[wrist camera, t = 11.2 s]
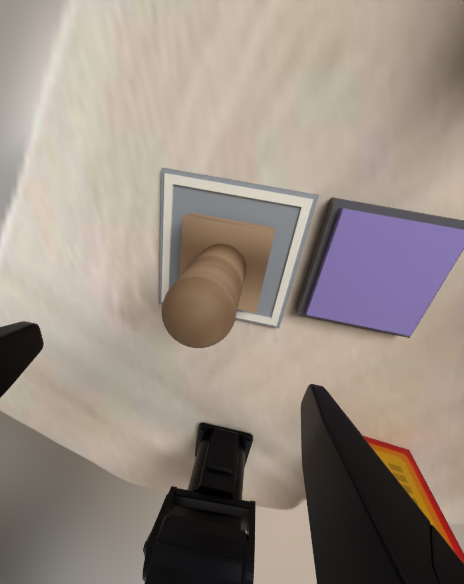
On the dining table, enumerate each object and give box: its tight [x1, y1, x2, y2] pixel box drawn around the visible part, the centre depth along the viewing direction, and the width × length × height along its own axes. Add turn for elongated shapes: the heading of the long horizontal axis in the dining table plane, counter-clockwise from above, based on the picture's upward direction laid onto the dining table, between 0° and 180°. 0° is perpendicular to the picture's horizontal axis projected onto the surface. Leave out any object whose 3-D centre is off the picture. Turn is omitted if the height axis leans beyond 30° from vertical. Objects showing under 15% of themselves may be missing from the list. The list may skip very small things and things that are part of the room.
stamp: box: [162, 212, 275, 348], centre depth 14 cm, size 6×6×10 cm
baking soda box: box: [363, 436, 464, 563], centre depth 20 cm, size 10×6×16 cm
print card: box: [159, 168, 318, 328], centre depth 19 cm, size 11×11×1 cm
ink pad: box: [296, 198, 464, 338], centre depth 17 cm, size 9×9×2 cm
